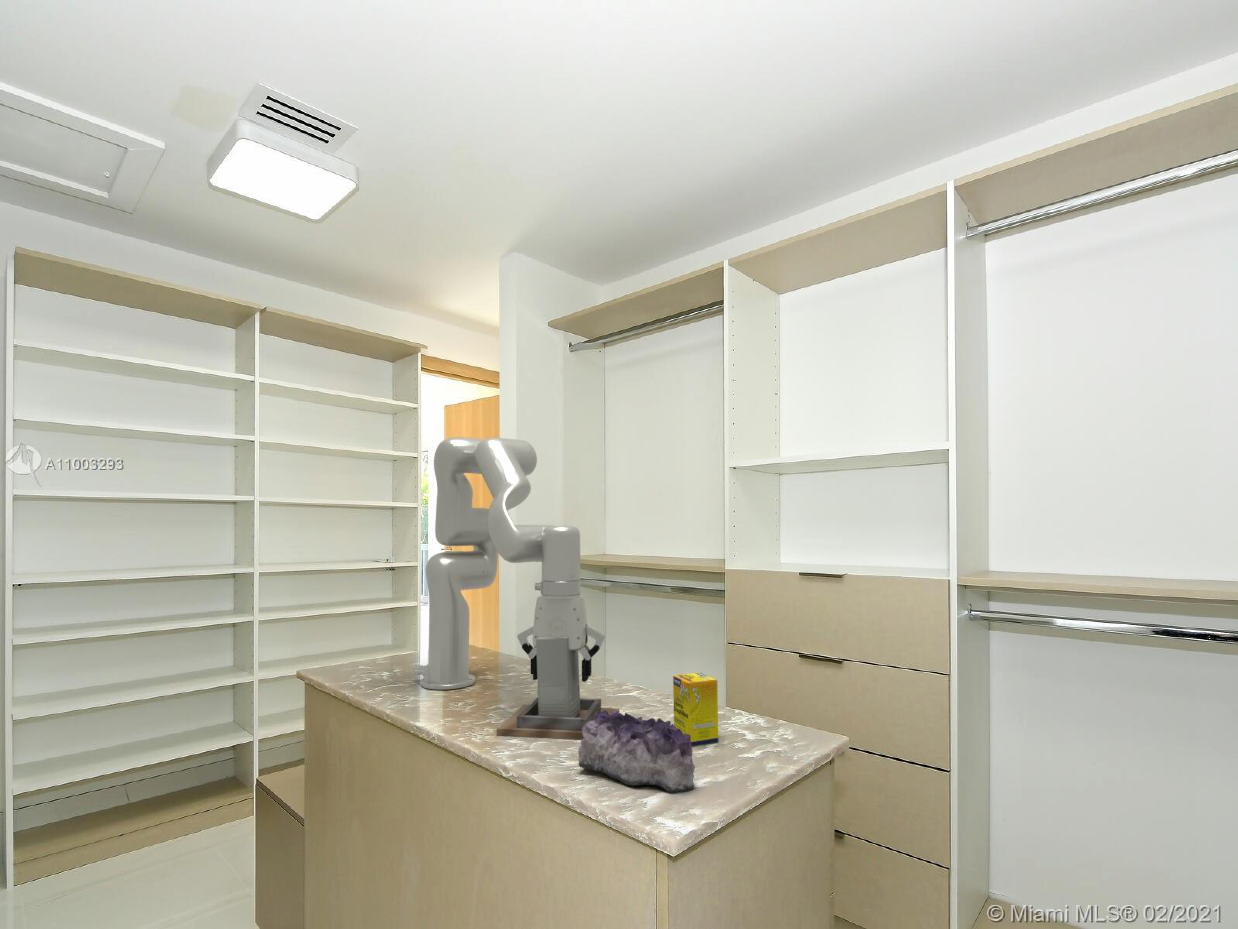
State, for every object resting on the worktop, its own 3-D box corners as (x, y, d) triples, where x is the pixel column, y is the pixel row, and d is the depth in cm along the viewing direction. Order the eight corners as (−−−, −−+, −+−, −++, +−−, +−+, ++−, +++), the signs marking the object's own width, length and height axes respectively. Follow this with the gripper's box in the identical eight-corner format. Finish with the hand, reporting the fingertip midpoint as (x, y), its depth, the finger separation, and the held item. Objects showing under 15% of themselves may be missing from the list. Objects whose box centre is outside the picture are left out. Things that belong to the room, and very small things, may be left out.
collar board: (496, 735, 119) (496, 717, 120) (523, 710, 135) (523, 694, 135) (604, 741, 116) (604, 722, 116) (619, 714, 132) (619, 698, 132)
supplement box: (672, 737, 118) (672, 675, 119) (701, 732, 120) (700, 671, 121) (689, 747, 112) (688, 682, 113) (719, 742, 115) (717, 678, 116)
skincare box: (570, 725, 121) (570, 638, 122) (533, 723, 122) (534, 637, 124) (582, 712, 129) (582, 630, 131) (547, 710, 131) (547, 629, 132)
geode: (716, 776, 100) (712, 712, 100) (676, 814, 91) (672, 743, 90) (610, 745, 112) (607, 687, 112) (566, 775, 103) (562, 713, 103)
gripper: (512, 591, 125) (511, 682, 124) (600, 592, 123) (601, 685, 121) (524, 587, 133) (523, 673, 131) (608, 588, 130) (608, 676, 128)
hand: (560, 679), depth 126 cm, fingers open, 9 cm apart
